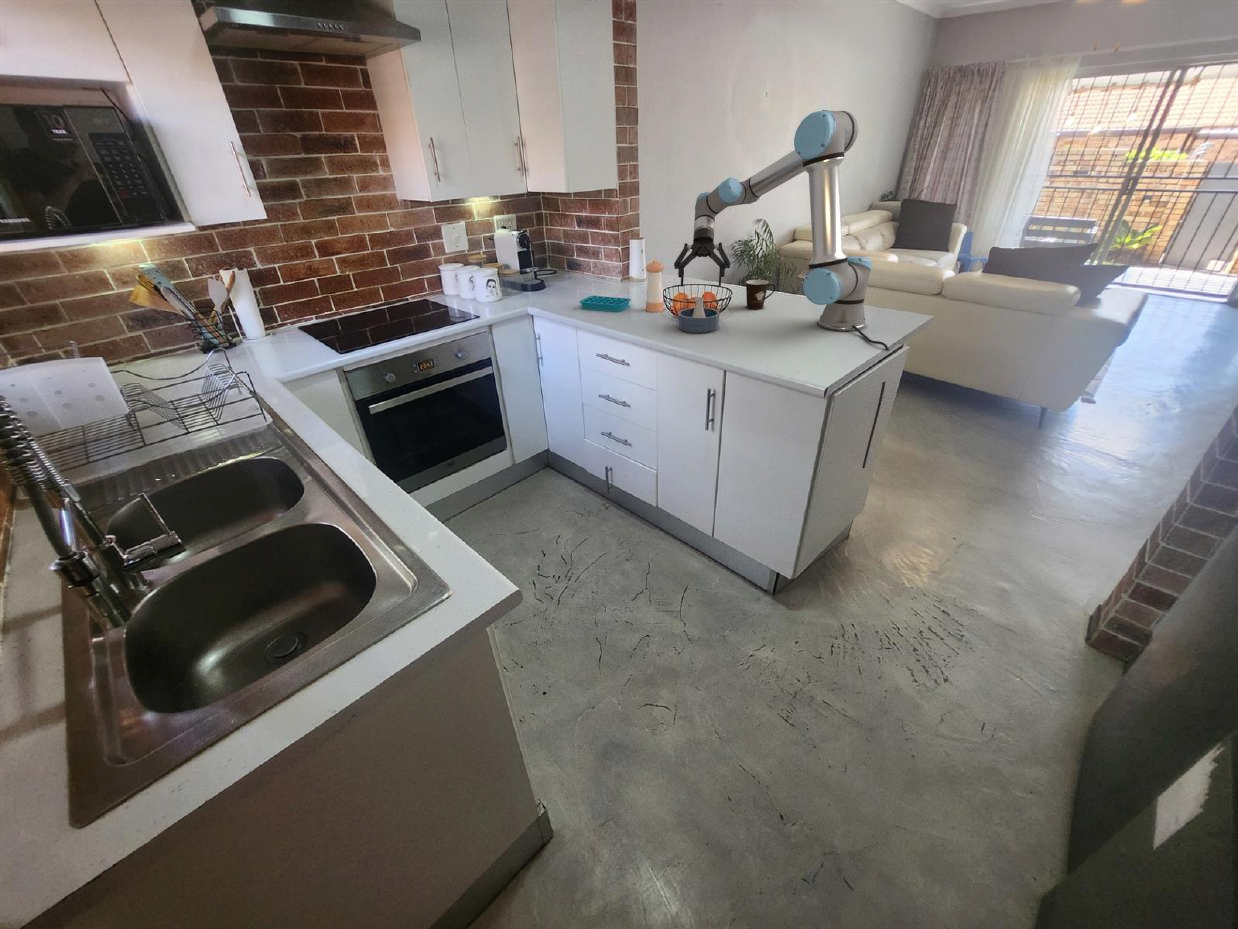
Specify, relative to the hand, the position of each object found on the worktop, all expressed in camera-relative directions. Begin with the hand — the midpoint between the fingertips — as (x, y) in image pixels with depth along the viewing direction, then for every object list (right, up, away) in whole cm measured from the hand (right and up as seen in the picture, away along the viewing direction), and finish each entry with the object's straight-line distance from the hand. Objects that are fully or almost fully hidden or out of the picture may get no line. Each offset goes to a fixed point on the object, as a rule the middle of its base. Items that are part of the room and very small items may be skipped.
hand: (700, 284), depth 182 cm
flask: (-1, -15, +2) cm, 15 cm away
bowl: (-1, -15, +2) cm, 15 cm away
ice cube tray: (-35, +2, +33) cm, 49 cm away
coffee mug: (+27, -2, +22) cm, 35 cm away
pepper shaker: (-15, -1, +27) cm, 30 cm away
